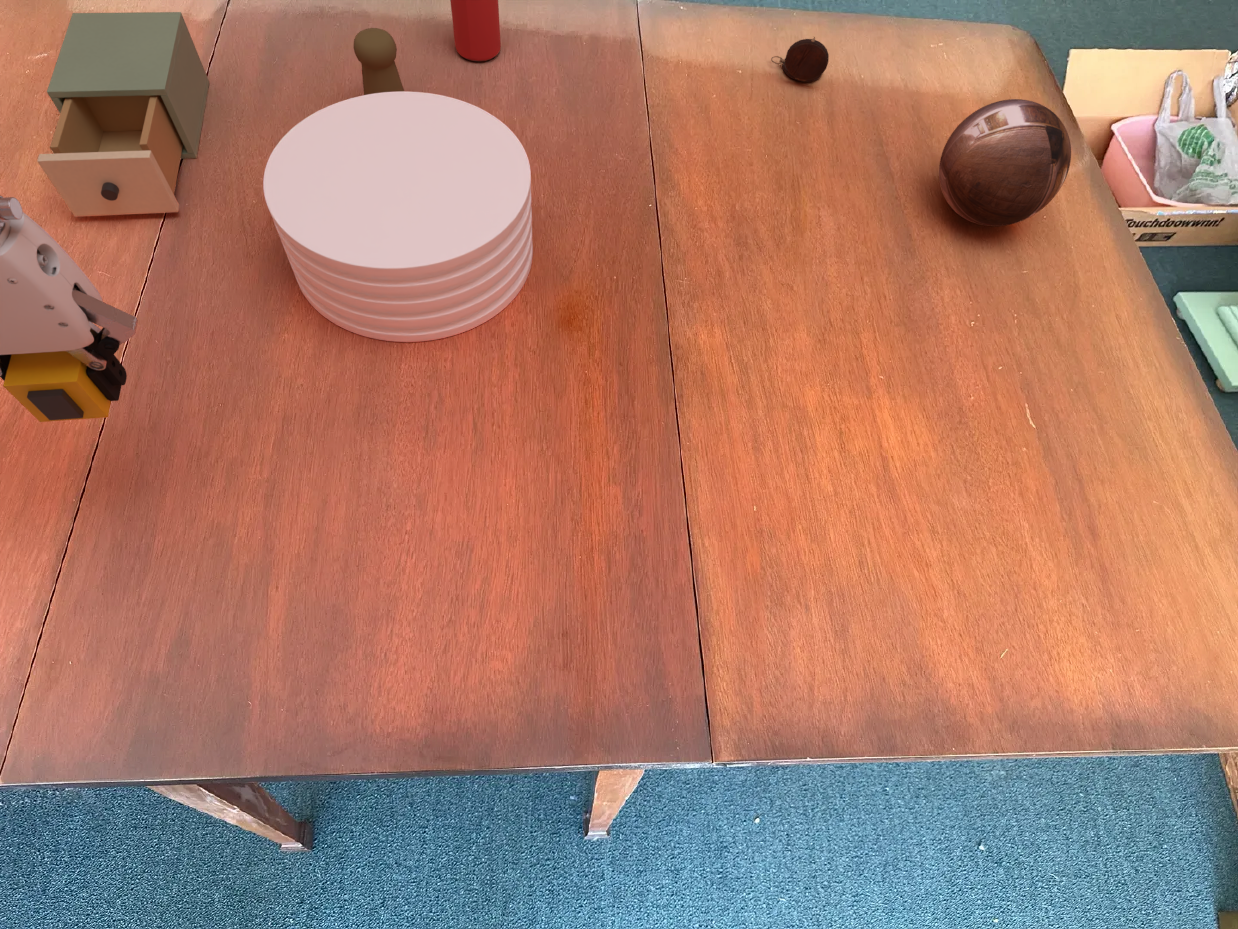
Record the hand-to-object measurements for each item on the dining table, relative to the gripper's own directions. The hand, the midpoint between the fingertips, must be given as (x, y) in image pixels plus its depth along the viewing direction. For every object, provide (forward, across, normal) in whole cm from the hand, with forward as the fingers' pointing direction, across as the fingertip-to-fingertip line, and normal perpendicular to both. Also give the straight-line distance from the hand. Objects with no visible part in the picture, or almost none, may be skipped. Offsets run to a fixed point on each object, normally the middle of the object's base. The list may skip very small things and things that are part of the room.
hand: (77, 387), depth 63 cm
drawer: (+15, +8, -43) cm, 46 cm away
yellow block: (0, 0, 0) cm, 0 cm away
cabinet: (+16, +8, -54) cm, 57 cm away
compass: (+15, -82, -62) cm, 104 cm away
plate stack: (+15, -26, -28) cm, 41 cm away
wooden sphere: (+14, -100, -30) cm, 105 cm away
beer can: (+16, -36, -68) cm, 79 cm away
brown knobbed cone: (+16, -22, -54) cm, 61 cm away
